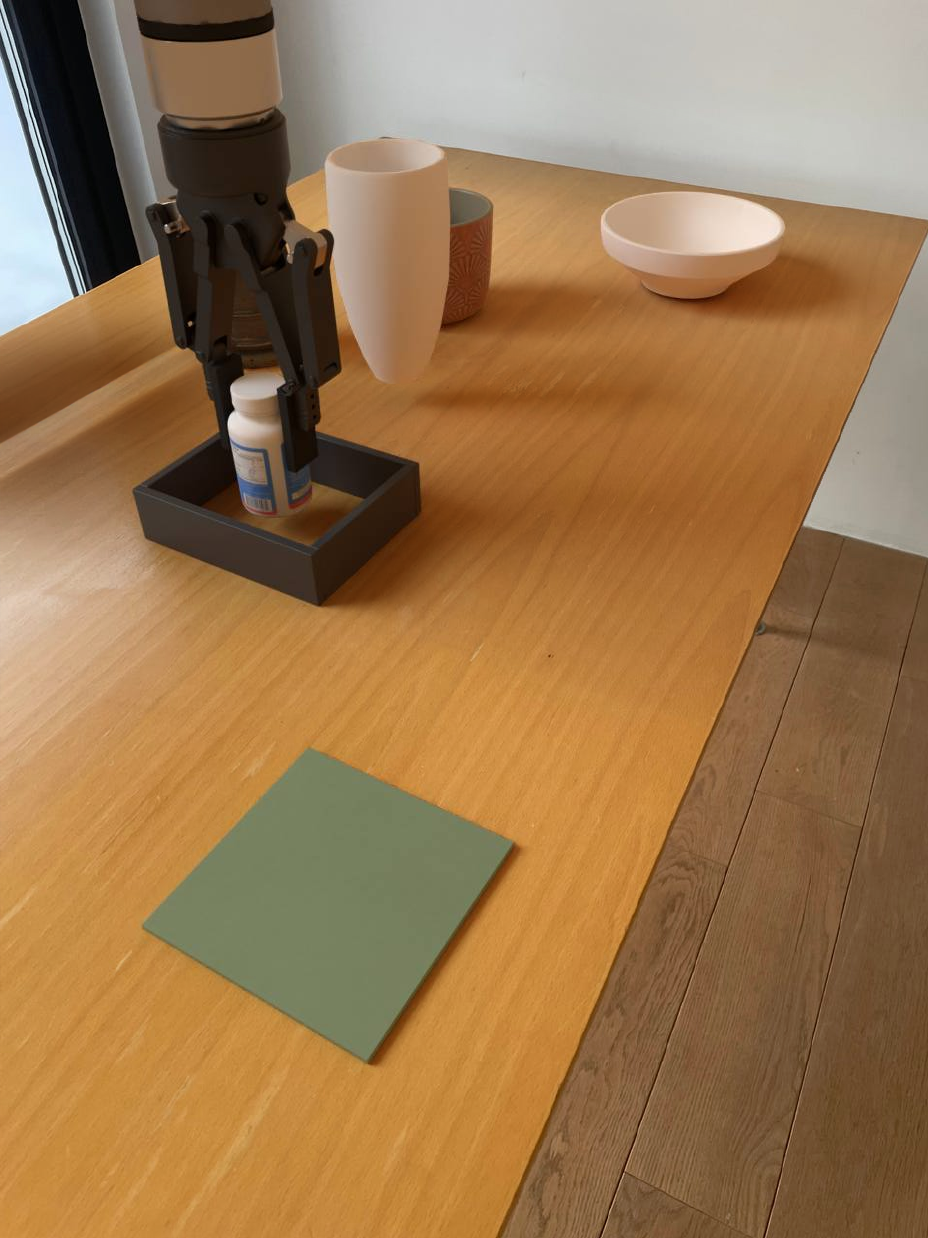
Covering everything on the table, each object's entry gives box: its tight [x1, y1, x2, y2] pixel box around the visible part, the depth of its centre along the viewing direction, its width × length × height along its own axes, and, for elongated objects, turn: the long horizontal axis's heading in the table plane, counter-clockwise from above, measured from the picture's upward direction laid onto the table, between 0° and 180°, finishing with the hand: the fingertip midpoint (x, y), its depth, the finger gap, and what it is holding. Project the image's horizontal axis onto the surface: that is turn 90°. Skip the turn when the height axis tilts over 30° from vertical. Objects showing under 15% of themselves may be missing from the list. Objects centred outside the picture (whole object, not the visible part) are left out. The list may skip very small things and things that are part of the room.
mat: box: [141, 746, 515, 1065], centre depth 53 cm, size 14×14×1 cm
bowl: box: [600, 191, 787, 299], centre depth 111 cm, size 20×20×7 cm
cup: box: [324, 138, 450, 385], centre depth 86 cm, size 10×10×22 cm
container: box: [227, 267, 279, 369], centre depth 96 cm, size 9×9×18 cm
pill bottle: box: [228, 371, 313, 519], centre depth 74 cm, size 6×5×10 cm
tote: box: [131, 430, 422, 607], centre depth 77 cm, size 17×14×4 cm
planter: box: [441, 186, 494, 325], centre depth 105 cm, size 12×12×11 cm
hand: (270, 451), depth 75 cm, fingers closed on pill bottle, 5 cm apart
